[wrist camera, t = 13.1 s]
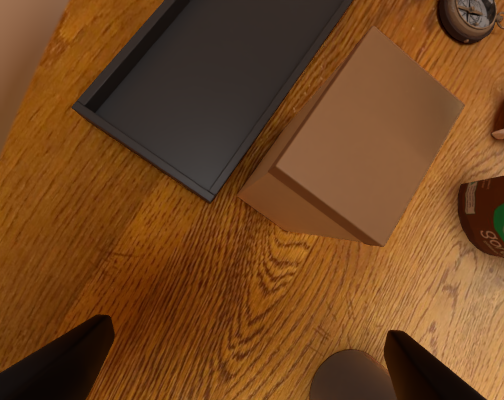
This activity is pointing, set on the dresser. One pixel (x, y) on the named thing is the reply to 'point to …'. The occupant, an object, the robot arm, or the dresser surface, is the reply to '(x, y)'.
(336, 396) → the cylinder
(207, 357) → the dresser surface
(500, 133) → the white bird figurine
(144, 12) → the dresser surface
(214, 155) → the tray
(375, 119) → the packet
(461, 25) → the compass
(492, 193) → the food container
